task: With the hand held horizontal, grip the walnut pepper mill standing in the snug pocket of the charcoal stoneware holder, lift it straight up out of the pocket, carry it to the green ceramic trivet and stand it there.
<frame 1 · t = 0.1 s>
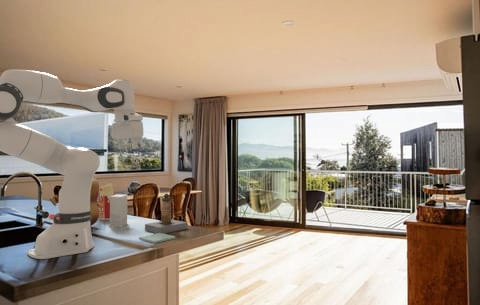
hand: (128, 149, 152), 39 cm above the counter, tool pointing down, fingers open, 8 cm apart
milk carton: (107, 218, 197), on the counter
holder: (166, 229, 168), on the counter
butternut squash: (84, 228, 172), on the counter
skincare box: (118, 225, 177), on the counter
trivet: (157, 238, 149), on the counter
pepper mill: (166, 211, 168), in the holder
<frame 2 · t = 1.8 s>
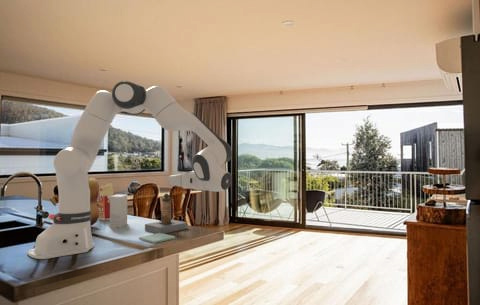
hand: (178, 178, 156), 26 cm above the counter, tool horizontal, fingers open, 8 cm apart
nothing on the counter moved.
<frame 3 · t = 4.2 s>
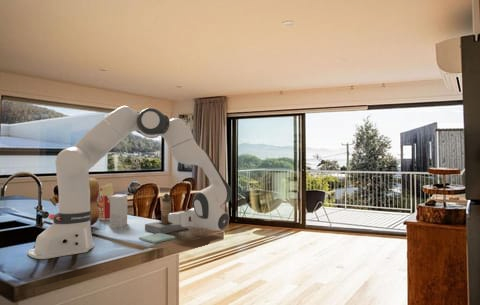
hand: (178, 213, 162), 9 cm above the counter, tool horizontal, fingers open, 8 cm apart
nothing on the counter moved.
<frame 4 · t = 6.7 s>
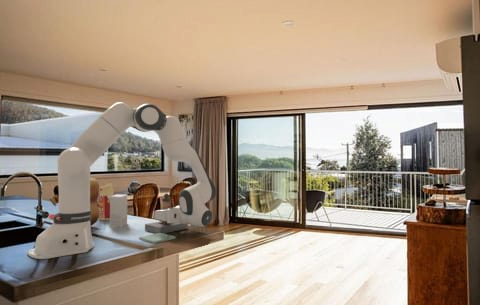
hand: (165, 210, 168), 9 cm above the counter, tool horizontal, fingers closed on pepper mill, 5 cm apart
pepper mill: (166, 211, 168), in the holder, touching gripper
everything else where it was.
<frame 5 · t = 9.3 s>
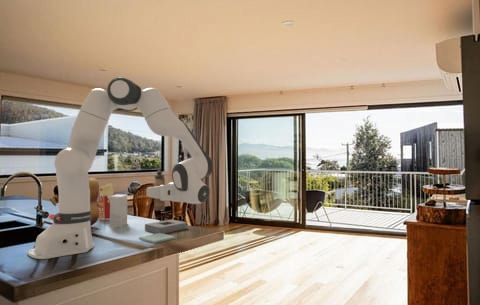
hand: (158, 189, 155), 21 cm above the counter, tool horizontal, fingers closed on pepper mill, 5 cm apart
pepper mill: (159, 190, 154), point 21 cm above the counter, touching gripper
everything else where it was.
when the fingers open (11 cm above the counter, at t = 12.0 s): pepper mill drops 1 cm, resting on trivet.
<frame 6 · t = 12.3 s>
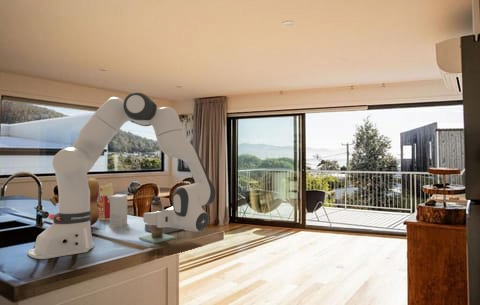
hand: (156, 213, 150), 11 cm above the counter, tool horizontal, fingers open, 8 cm apart
pepper mill: (156, 216, 149), on the trivet, point 10 cm above the counter
everything else where it was.
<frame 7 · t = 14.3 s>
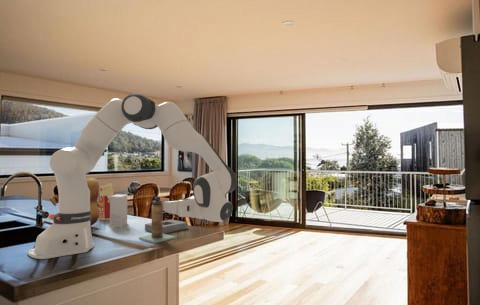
hand: (175, 202, 145), 16 cm above the counter, tool horizontal, fingers open, 8 cm apart
nothing on the counter moved.
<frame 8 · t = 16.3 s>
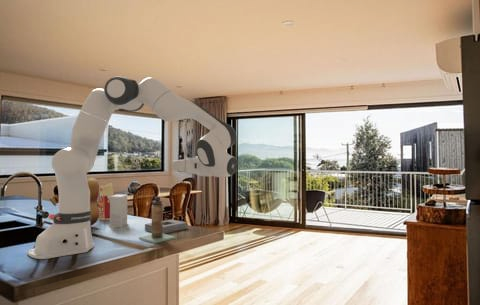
hand: (182, 164, 151), 32 cm above the counter, tool horizontal, fingers open, 8 cm apart
nothing on the counter moved.
at the end: pepper mill inside the target area on the trivet (0.1 cm from its centre), point 9.5 cm above the trivet's base; pepper mill tilted 0°; the gripper is holding nothing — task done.
